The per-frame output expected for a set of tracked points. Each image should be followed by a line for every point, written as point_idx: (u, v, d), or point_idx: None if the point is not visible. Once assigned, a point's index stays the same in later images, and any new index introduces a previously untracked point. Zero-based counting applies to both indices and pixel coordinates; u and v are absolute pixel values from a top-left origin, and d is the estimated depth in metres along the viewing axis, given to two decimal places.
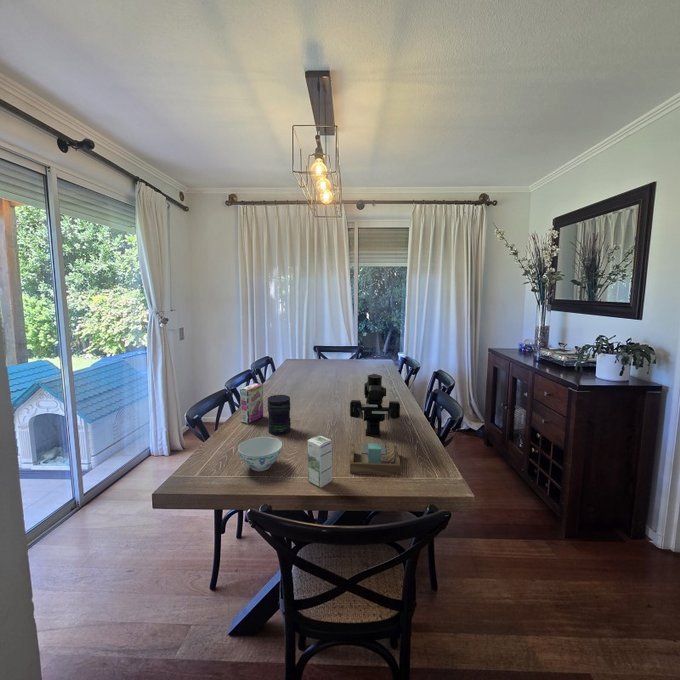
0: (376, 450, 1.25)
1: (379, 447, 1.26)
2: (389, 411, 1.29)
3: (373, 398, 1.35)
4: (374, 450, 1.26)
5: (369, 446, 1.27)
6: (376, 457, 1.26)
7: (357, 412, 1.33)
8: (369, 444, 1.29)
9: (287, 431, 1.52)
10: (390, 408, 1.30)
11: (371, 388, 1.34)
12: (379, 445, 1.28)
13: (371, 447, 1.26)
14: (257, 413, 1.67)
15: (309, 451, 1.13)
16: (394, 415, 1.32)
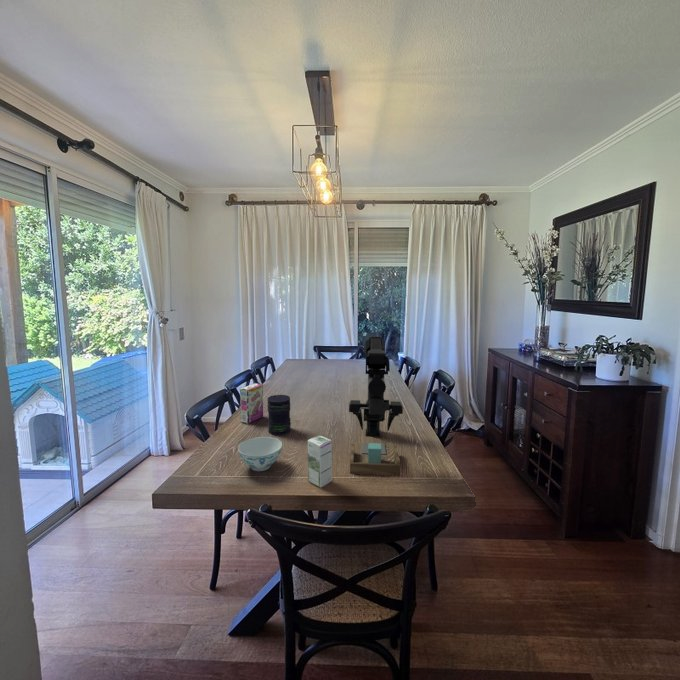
0: (376, 450, 1.25)
1: (379, 447, 1.26)
2: (390, 422, 1.25)
3: None
4: (374, 450, 1.26)
5: (369, 446, 1.27)
6: (376, 457, 1.26)
7: None
8: (369, 444, 1.29)
9: (287, 431, 1.52)
10: (391, 417, 1.24)
11: (372, 412, 1.18)
12: (379, 445, 1.28)
13: (371, 447, 1.26)
14: (257, 413, 1.67)
15: (309, 451, 1.13)
16: None
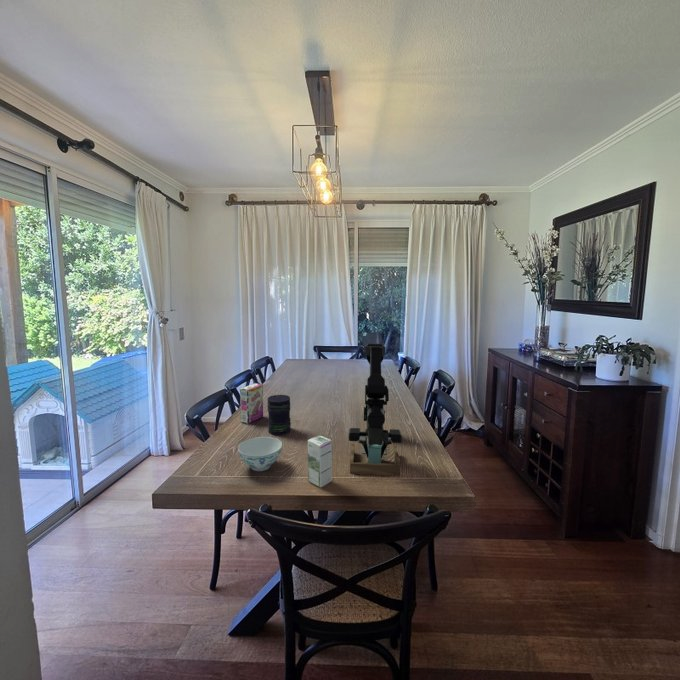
0: (376, 450, 1.25)
1: (379, 447, 1.26)
2: (383, 450, 1.26)
3: None
4: (374, 450, 1.26)
5: (369, 446, 1.27)
6: (376, 457, 1.26)
7: None
8: (369, 444, 1.29)
9: (287, 431, 1.52)
10: (384, 445, 1.26)
11: (371, 442, 1.19)
12: (379, 445, 1.28)
13: (371, 447, 1.26)
14: (257, 413, 1.67)
15: (309, 451, 1.13)
16: None
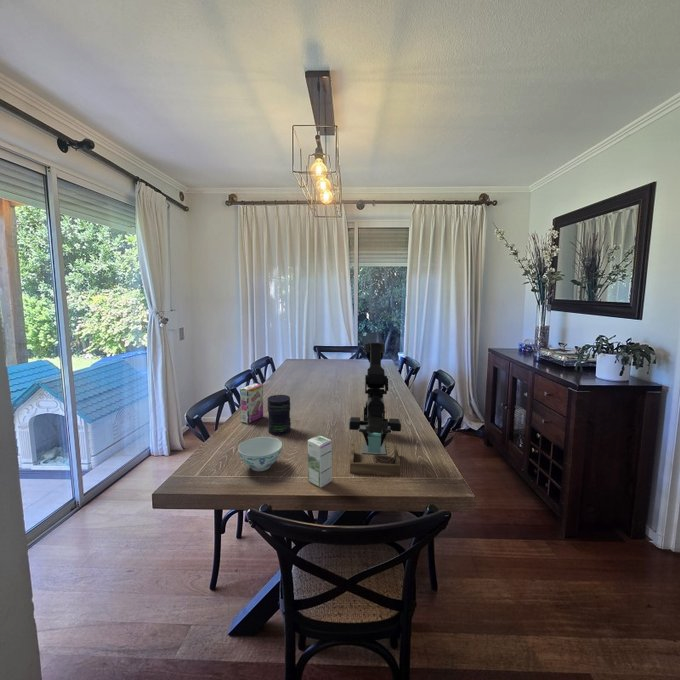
0: (376, 438, 1.29)
1: (379, 435, 1.30)
2: (382, 438, 1.29)
3: None
4: (374, 438, 1.29)
5: (369, 434, 1.30)
6: (376, 445, 1.29)
7: None
8: (369, 433, 1.32)
9: (287, 431, 1.52)
10: (384, 434, 1.29)
11: (371, 430, 1.22)
12: (379, 434, 1.31)
13: (371, 435, 1.30)
14: (257, 413, 1.67)
15: (309, 451, 1.13)
16: None
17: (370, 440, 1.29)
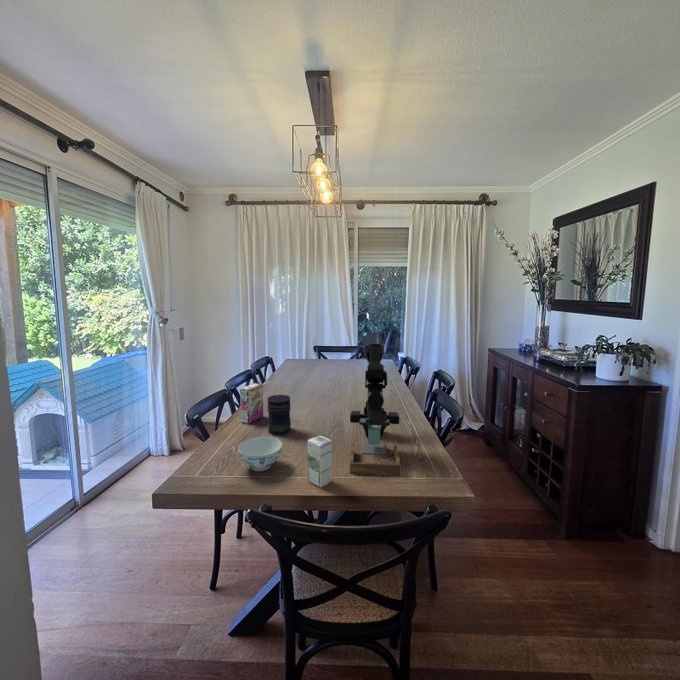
0: (375, 431, 1.35)
1: (378, 428, 1.36)
2: (382, 431, 1.36)
3: None
4: (374, 431, 1.35)
5: (369, 427, 1.37)
6: (376, 437, 1.35)
7: None
8: (369, 426, 1.38)
9: (287, 431, 1.52)
10: (383, 427, 1.35)
11: (371, 423, 1.29)
12: (378, 426, 1.37)
13: (371, 428, 1.36)
14: (257, 413, 1.67)
15: (309, 451, 1.13)
16: None
17: (370, 432, 1.35)
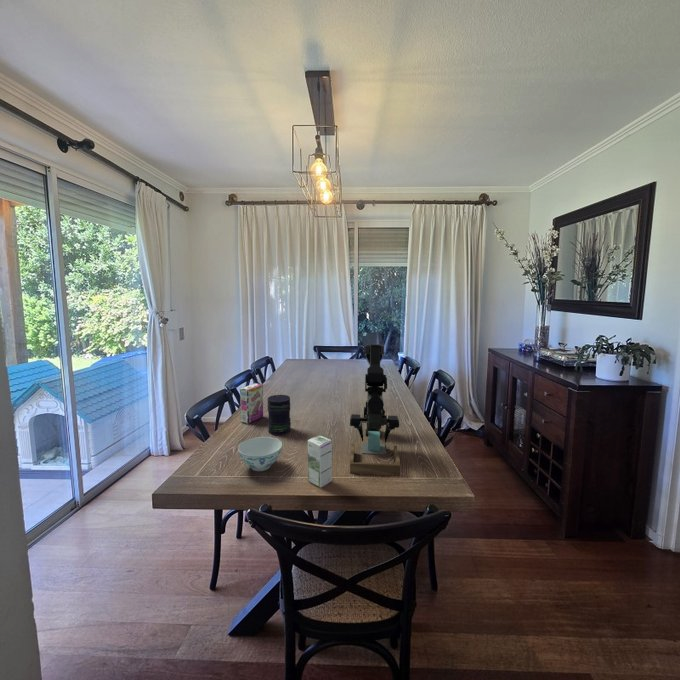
0: (375, 437, 1.35)
1: (378, 434, 1.36)
2: (387, 434, 1.36)
3: None
4: (373, 437, 1.35)
5: (369, 434, 1.37)
6: (376, 444, 1.36)
7: None
8: (369, 432, 1.39)
9: (287, 431, 1.52)
10: (388, 430, 1.35)
11: (371, 426, 1.29)
12: (378, 433, 1.38)
13: (371, 434, 1.36)
14: (257, 413, 1.67)
15: (309, 451, 1.13)
16: None
17: (370, 439, 1.36)
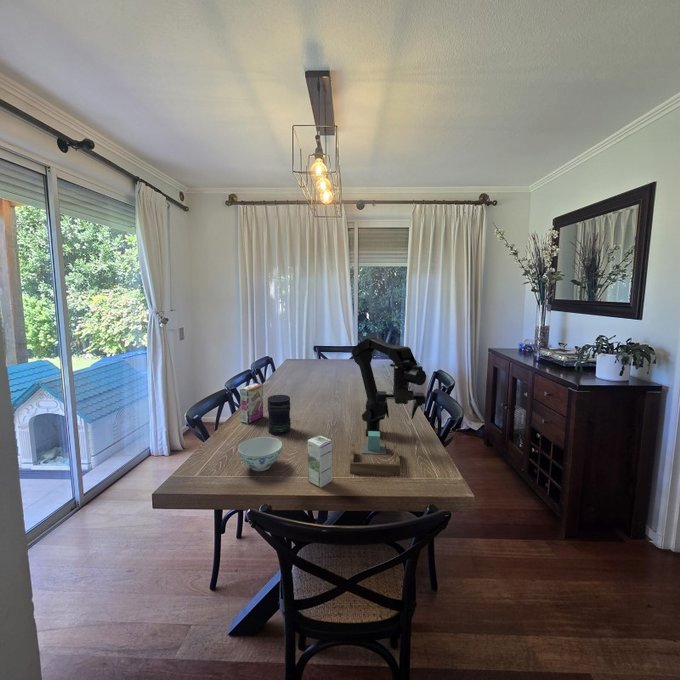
0: (375, 437, 1.35)
1: (378, 434, 1.36)
2: (414, 411, 1.36)
3: None
4: (373, 437, 1.35)
5: (369, 434, 1.37)
6: (376, 444, 1.36)
7: None
8: (369, 432, 1.39)
9: (287, 431, 1.52)
10: (415, 407, 1.35)
11: (397, 401, 1.29)
12: (378, 433, 1.38)
13: (371, 434, 1.36)
14: (257, 413, 1.67)
15: (309, 451, 1.13)
16: None
17: (370, 439, 1.36)
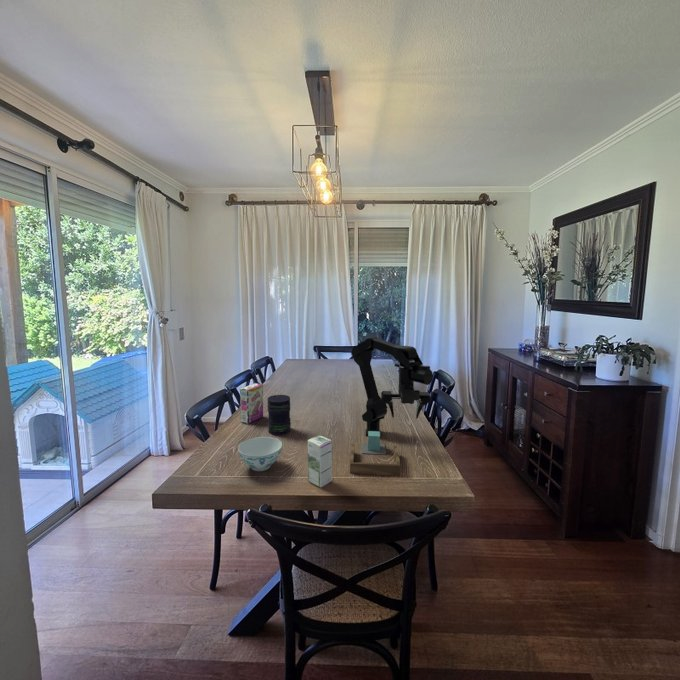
0: (375, 437, 1.35)
1: (378, 434, 1.36)
2: (419, 410, 1.37)
3: None
4: (373, 437, 1.35)
5: (369, 434, 1.37)
6: (376, 444, 1.36)
7: None
8: (369, 432, 1.39)
9: (287, 431, 1.52)
10: (420, 406, 1.36)
11: (404, 401, 1.30)
12: (378, 433, 1.38)
13: (371, 434, 1.36)
14: (257, 413, 1.67)
15: (309, 451, 1.13)
16: None
17: (370, 439, 1.36)
